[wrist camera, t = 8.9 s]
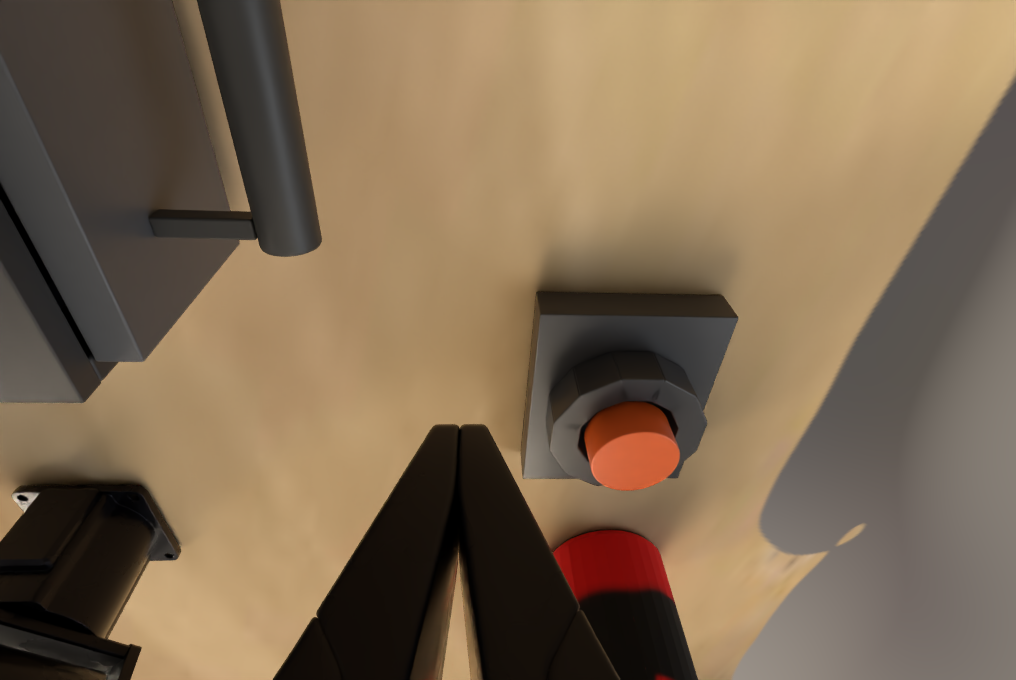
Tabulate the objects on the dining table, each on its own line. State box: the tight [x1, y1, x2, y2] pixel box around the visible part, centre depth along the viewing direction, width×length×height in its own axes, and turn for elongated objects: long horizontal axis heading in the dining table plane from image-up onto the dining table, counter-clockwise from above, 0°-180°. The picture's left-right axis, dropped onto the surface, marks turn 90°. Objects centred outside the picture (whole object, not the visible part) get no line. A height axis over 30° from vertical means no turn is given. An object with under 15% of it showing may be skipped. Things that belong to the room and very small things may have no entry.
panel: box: [521, 292, 738, 486], centre depth 24 cm, size 10×8×4 cm
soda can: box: [553, 530, 698, 680], centre depth 30 cm, size 8×8×12 cm
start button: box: [584, 401, 680, 490], centre depth 22 cm, size 4×4×2 cm
